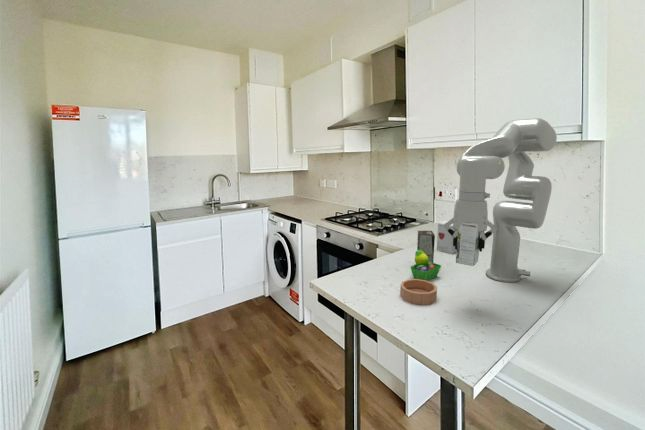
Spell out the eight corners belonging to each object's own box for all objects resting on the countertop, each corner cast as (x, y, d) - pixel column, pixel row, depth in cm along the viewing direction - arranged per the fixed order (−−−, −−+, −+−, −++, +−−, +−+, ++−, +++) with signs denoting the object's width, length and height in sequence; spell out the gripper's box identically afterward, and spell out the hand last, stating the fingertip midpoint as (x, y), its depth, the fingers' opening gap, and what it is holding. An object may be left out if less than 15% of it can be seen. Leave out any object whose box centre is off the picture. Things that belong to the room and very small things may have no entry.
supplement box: (435, 250, 167) (437, 222, 164) (445, 246, 172) (447, 219, 169) (451, 254, 160) (453, 225, 157) (461, 250, 165) (463, 222, 162)
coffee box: (433, 271, 139) (435, 235, 135) (418, 270, 140) (419, 235, 137) (430, 263, 147) (432, 230, 144) (416, 263, 149) (417, 229, 145)
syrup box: (460, 258, 111) (463, 217, 108) (478, 261, 107) (481, 219, 104) (455, 263, 107) (457, 221, 103) (474, 266, 103) (477, 223, 100)
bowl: (437, 292, 118) (438, 282, 118) (434, 307, 107) (435, 296, 107) (403, 286, 123) (404, 277, 123) (397, 300, 112) (398, 290, 111)
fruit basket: (424, 284, 126) (425, 257, 123) (406, 277, 133) (407, 251, 130) (441, 277, 132) (442, 251, 130) (423, 270, 139) (424, 246, 137)
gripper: (501, 195, 102) (496, 248, 106) (443, 194, 109) (441, 243, 113) (503, 199, 95) (498, 255, 99) (442, 197, 102) (439, 250, 106)
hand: (468, 248), depth 106 cm, fingers closed on syrup box, 6 cm apart
